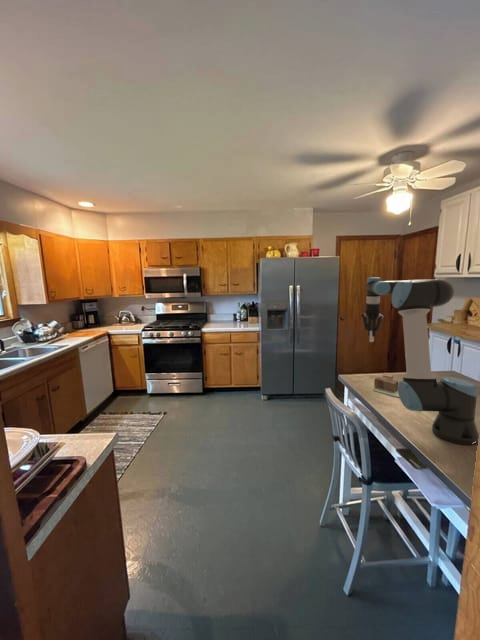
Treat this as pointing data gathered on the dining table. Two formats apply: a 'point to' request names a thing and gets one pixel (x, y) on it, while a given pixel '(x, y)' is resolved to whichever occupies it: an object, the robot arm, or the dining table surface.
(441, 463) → the dining table surface
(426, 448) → the dining table surface
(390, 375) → the oak cube
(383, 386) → the wooden block
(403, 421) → the dining table surface
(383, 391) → the mat
